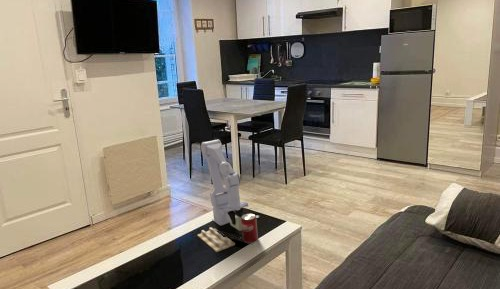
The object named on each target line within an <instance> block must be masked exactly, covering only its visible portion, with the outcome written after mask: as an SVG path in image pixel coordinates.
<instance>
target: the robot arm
mask: <svg viewBox="0 0 500 289" xmlns="http://www.w3.org/2000/svg"><path fill="white" fill-rule="evenodd" d="M200 151H201V155H202V158H203V159H205V160H206V163H207V167H208V171H209V175H210V178H211V181H212V186H213V190H212V191H211V193H210V203H211V205H212V213H213V214H212V215H213V218H212V221H213V222H214V223H216V224H217V225H219V226H224V225H227V224H230V218H231V221H232V224H233V225H236V221H235V215H237V216H239V217H242V216H243V213H244V209H243V208H246V207H249V202H248V201H244V202H241V198H240V187H239V185H240V184H241V178H240V177H241V176H240V174H239V173H238V172H236V171H235V170H234V169H233V167H232V165H231V163H230V162H228V161H226V158H225V156H224V154H223V144H222V142H221V140H220V139H214V140H213V139H212V140H209V141H202V142H201V144H200ZM221 175H222V177H223V181H222V178H221ZM223 182H224V184H223ZM223 185H225V187H224V186H223ZM229 216H230V217H229Z"/></svg>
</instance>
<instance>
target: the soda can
mask: <svg viewBox="0 0 500 289" xmlns="http://www.w3.org/2000/svg"><path fill="white" fill-rule="evenodd" d="M257 221H258V220H257V215H255V214H253V213H246V214H242V216H241V226H242V230H241V234H242V236H241V237H242V241H243V242H244V243H247V244H253V243H256V242H257V241H258V240H259V235H258V222H257Z"/></svg>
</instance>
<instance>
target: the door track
mask: <svg viewBox="0 0 500 289" xmlns="http://www.w3.org/2000/svg"><path fill="white" fill-rule="evenodd" d="M208 228H209V229H208V230H207V231H205V230H204V229H202V230H201V232H200V233H198V234H197V237H198V238H199V240H202V241H203V242H204V243H205V244H206V245H208V247H210V249H212V250H213V251H214V252H215V253H218V252H221V251H223V250H226V249H228V248H230V247H233V246H235V245H236V243H235V242H234V241H232V239H230V238H228V237H227V236H226V237H223V236H222V235H221V234H219V233H218V232H217V231H219V230H218V229H217V228H213V227H212V226H211V227H208Z"/></svg>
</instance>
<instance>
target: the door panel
mask: <svg viewBox="0 0 500 289" xmlns="http://www.w3.org/2000/svg"><path fill="white" fill-rule="evenodd" d="M229 217H230V216H229ZM241 217H242V216H241ZM241 217H239V216H237V215H235V221H236V225H233V224H232V221H231V218H230V223H229V225H230V226H231V227H233V228H235V229H236V230H238V231H241V232H242V226H241Z"/></svg>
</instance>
